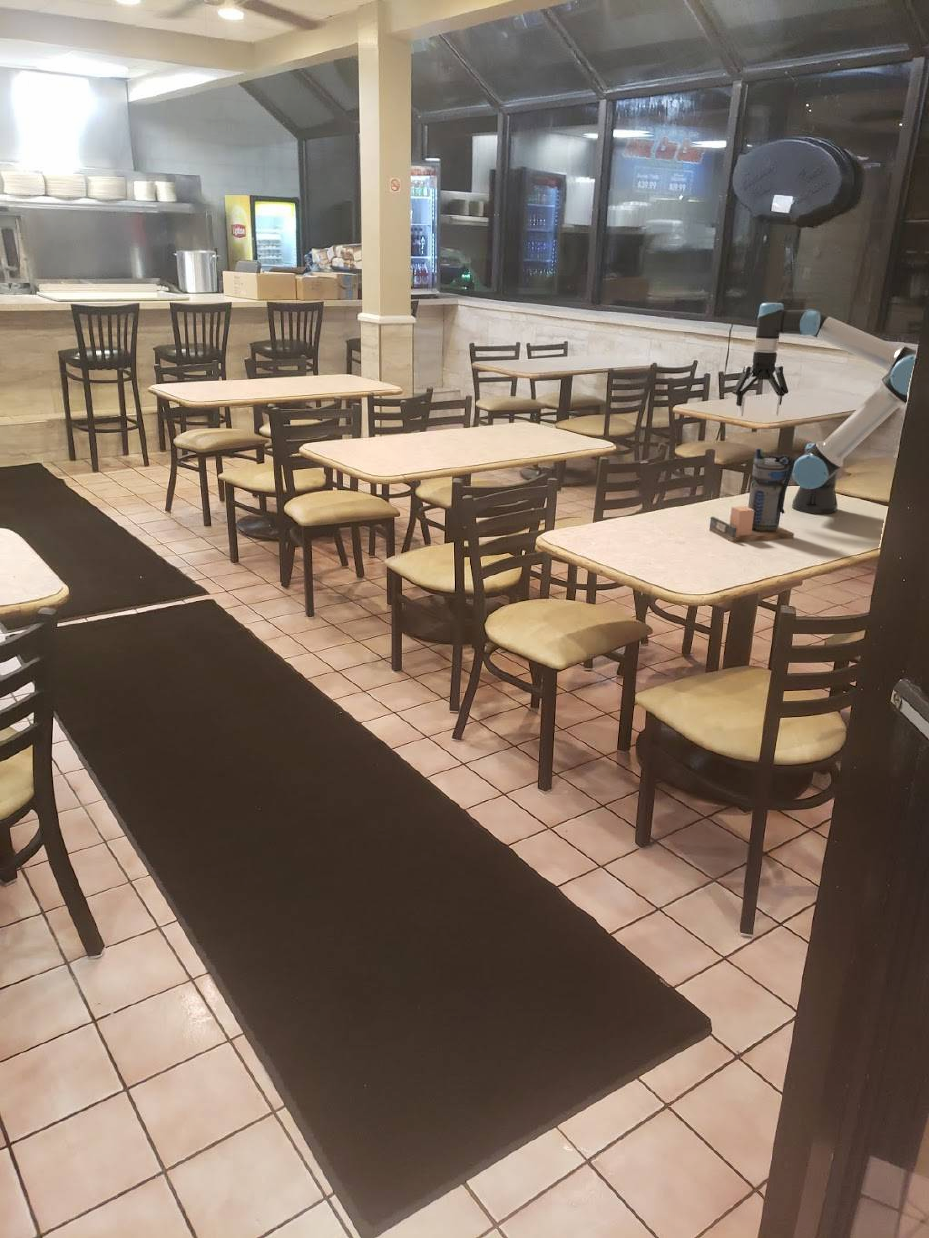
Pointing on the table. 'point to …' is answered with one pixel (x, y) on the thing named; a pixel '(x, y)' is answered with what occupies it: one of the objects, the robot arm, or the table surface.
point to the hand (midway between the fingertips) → (757, 415)
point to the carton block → (742, 520)
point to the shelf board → (730, 534)
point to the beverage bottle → (769, 489)
